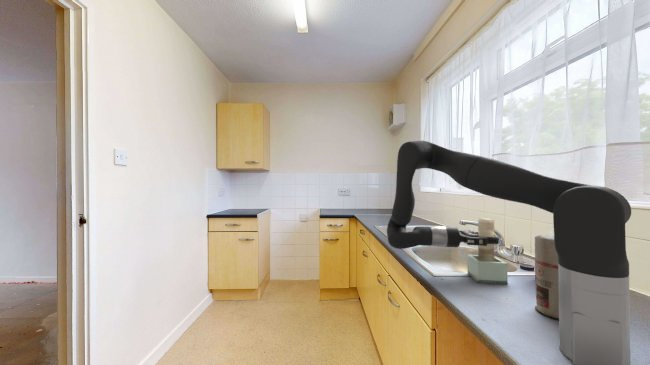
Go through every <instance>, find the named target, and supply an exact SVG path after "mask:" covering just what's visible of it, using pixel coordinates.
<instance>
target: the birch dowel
mask: <svg viewBox="0 0 650 365" xmlns="http://www.w3.org/2000/svg"><path fill="white" fill-rule="evenodd" d="M477 225H478V226H477V227H478V228H477V230H478V231H477V232H478V235H479V236H485V237H495V219H492V218H478V222H477ZM479 241H480V242H482V240H479ZM477 247H478V248H477V255H478V260H479V261H483V262H494V256H495V244H487V246H481V245H477Z"/></svg>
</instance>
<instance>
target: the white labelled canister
mask: <svg viewBox="0 0 650 365" xmlns="http://www.w3.org/2000/svg"><path fill="white" fill-rule="evenodd" d="M535 237H536V238H535ZM535 237H534V250H535V249H536V254H535V253H534V261H535V260H536V279H535V284H536V286H535V293H536V294H535V298H536V299H535V300H536V301H535V302H536V305H535V307H534V308H535V310H536V311H538V312H540V313H541V314H543V315H545V316H547V317H550V318H553V319H557V320H559V269H558V264H559V263H558V254H557V252H556V249H555V243H554V235H542V234H539V235H536V236H535Z"/></svg>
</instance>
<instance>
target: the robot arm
mask: <svg viewBox="0 0 650 365" xmlns="http://www.w3.org/2000/svg"><path fill="white" fill-rule="evenodd" d="M396 161H397V162H396V178H395V179H396V185H395V187H396V188H395V195H394V196H395V197H394V202H393V206H392V210H391V216H390V218H389V221H388V223H387V227H386V235H387V243H388V244H389V245H390V247H392V248H394V249H397V250H403V249H405V250H406V249H411V248H414V247H418V246H422V247H425V246H426V247H436V248H459V247H460V244H461V243H464V244H466V245H468V246H478V245H481V246H487V244H494V245H499V241H500V239H499V237H497V236H494V237H485V236H479V235H478V231H474V230H472V231H471V230H470V229H467V230H465V229H464V230H462V229H461V230H459V228H458V227H457V226H455V225H454V226H453V225H434V226H433V225H432V226H425V225H423V226H421V225H420V226H419V225H417V226H415V227H413V230H411V231H406V230H407V225H408V224H409V223H410V222H411V221H412V217H413V213H414V209H415V205H416V204H415V202H416V201H415V200H416V199H415V194H414V190H413V179H414V175H415V173H416V170H420V169H429V170H434V171H438V172H442V173H444V174H445V175H447V176H449V177H450V178H452V180H453V181H454V182H456V183H457V184H458V185H460V186H462V187H464V188H465V189H468V190H471V191H473V192H476V193H479V194H482V195H484V196H488V197H492V198H495V199H500V200H504V201H505V200H506V201H508V202H515V203H519V204H524V205H529V206H532V207H536V208H538V209H541V210H543V211H546V212H549V213H550V214H552V216H553V218H552V219H553V236H554V243H555V249H556V252H557V254H558V263H559V264H558V269H559V319H558V332H559V333H558V335H559V337H558V339H559V343H558V345H559V350H560V351H561V353H562V354H563V355H564V356H565V357H566V358H568V359H569V360H570V361H571V362H572V364H573V365H631V325H630V324H631V320H630V319H631V317H630V316H631V315H630V314H631V313H630V312H631V311H630V309H631V308H630V307H631V306H630V304H631V303H630V262H629V259H628V256H627V249H626V247H627V246H626V245H627V244H626V243H627V242H626V240H627V239H626V223H627V222H629V220H630V219H631V216H632V207H631V204H630V202H629V201H628V200H627V198H626V197H625V196H624V195H622V194H621V193H619V192H618V191H617V190H614V189H612V188H609V187H605V186H601V185H600V186H599V185H593V184H592V185H591V184H586V183H580V182H574V181H568V180H564V179H560V178H559V179H558V178H555V177H554V178H553V177H550V176H547V175H543V174H539V173H537V172H534V171H531V170H529V169H526V168H523V167H521V166H517V165H514V164H511V163H508V162H504V161H501V160H498V159H497V160H496V159H494V158H489V157H485V156H482V155H476V154H472V153H467V152H461V151H456V150H452V149H448V148H445V147H443V146H440V145H439V144H436V143H432V142H430V141H429V140H413V141H410V140H409V141H407V142H406V141H405V142H404V143H402V145H400V147H399V149H398V152H397V160H396ZM479 240H482V242H480V241H479Z"/></svg>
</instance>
